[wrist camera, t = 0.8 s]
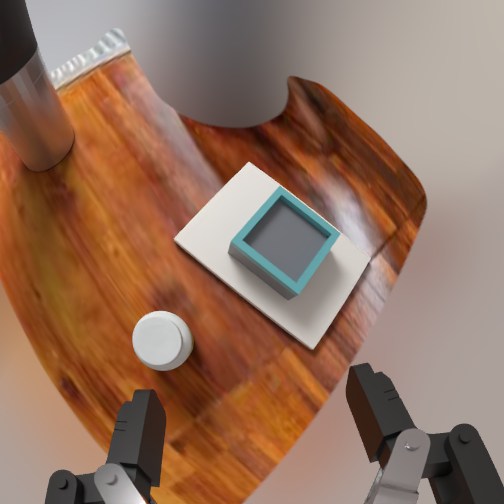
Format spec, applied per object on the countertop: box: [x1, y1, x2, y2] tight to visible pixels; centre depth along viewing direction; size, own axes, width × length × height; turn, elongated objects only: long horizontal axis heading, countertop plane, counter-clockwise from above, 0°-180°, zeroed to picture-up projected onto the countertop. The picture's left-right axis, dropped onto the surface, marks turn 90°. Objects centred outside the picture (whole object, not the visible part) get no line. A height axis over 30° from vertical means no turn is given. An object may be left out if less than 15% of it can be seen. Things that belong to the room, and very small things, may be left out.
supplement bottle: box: [132, 311, 194, 371], centre depth 27 cm, size 5×5×10 cm
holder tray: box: [174, 162, 371, 350], centre depth 34 cm, size 20×14×5 cm
